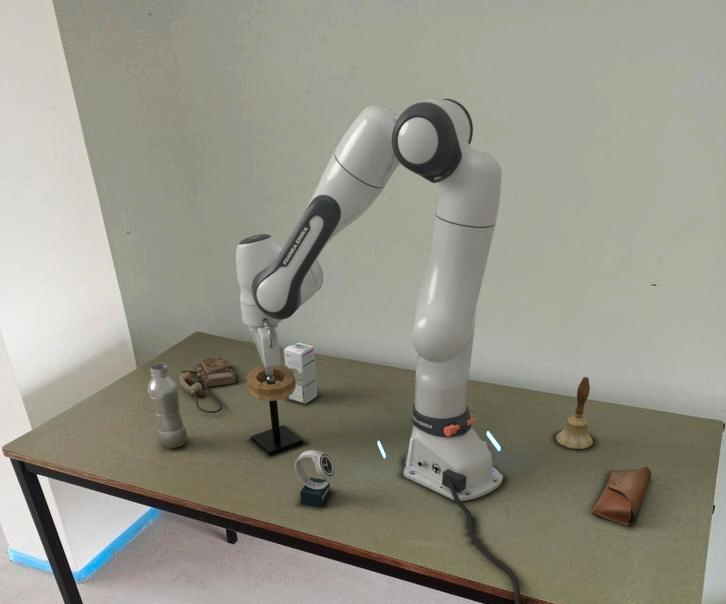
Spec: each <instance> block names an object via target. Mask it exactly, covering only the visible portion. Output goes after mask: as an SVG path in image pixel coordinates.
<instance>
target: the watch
mask: <svg viewBox="0 0 726 604" xmlns="http://www.w3.org/2000/svg"><path fill="white" fill-rule="evenodd" d="M303 458H311V459H312V462H313V463H314V465H315V469H316V472H317V474H318V475H319V476H320V477H321V478H317V477H311V476H310V477H309V475H308V474H307V473H306V471H305V469H304V467H303V464H301V459H303ZM293 471H294V473H295V475H296V477H297V478H298V481H299V482H300V484H302V485H303V487H302V488H301V490H300V491H299V494H300V505H303V506H309V507H316V508H320V509H321V508H322V507H323V505H324V503H325V502H326V501H327V498H328V497H329V495H330V493H331V484H330V482H331V481H332V480H333V477H334V475H335V464H334V461H333V459H332V457H330V455H329V454H327V453H323V452H322V451H320V450H319V451H318V450H314V449H308V450H305V451H303V452H302V453H300V454H299V456H298V457H297V459H295V461H294V469H293Z"/></svg>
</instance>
